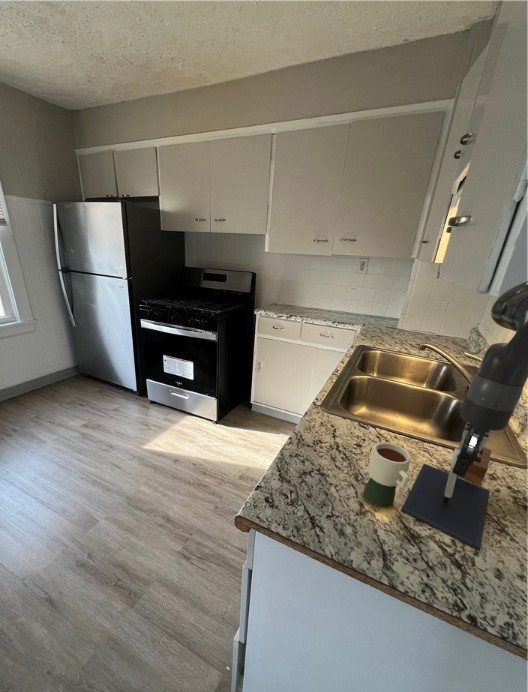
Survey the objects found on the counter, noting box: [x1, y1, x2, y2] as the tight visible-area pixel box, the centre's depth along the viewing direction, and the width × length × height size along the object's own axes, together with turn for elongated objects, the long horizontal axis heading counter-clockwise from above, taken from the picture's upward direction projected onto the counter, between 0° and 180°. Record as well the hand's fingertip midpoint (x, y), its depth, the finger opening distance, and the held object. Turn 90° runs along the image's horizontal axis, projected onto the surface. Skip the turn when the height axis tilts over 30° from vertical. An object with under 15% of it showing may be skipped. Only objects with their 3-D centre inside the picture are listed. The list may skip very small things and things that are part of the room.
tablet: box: [400, 463, 491, 551], centre depth 70 cm, size 20×14×1 cm
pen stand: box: [457, 446, 492, 486], centre depth 79 cm, size 10×6×5 cm, turn 140°
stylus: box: [444, 447, 460, 500], centre depth 67 cm, size 1×1×13 cm
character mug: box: [363, 441, 412, 508], centre depth 67 cm, size 11×7×13 cm, turn 14°
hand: (458, 471), depth 66 cm, fingers closed on stylus, 1 cm apart
